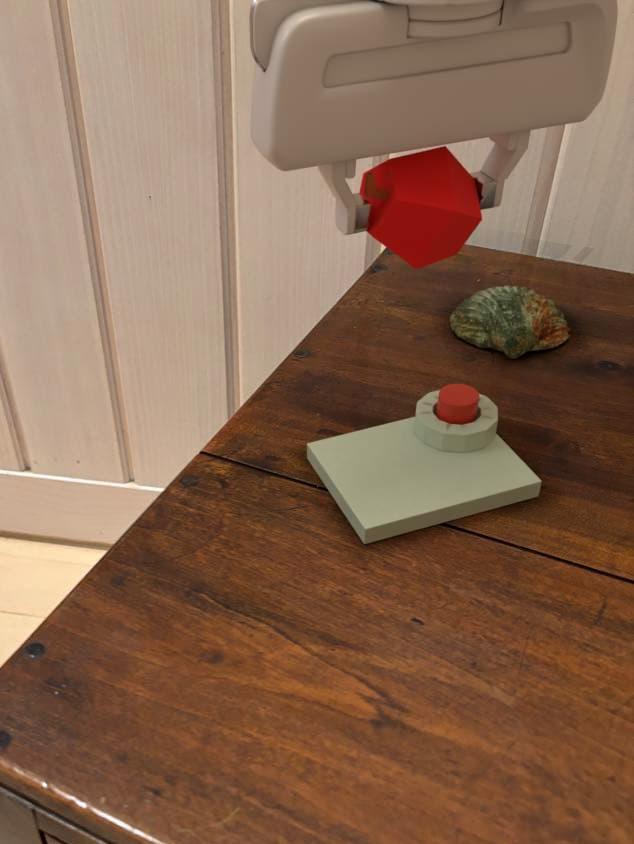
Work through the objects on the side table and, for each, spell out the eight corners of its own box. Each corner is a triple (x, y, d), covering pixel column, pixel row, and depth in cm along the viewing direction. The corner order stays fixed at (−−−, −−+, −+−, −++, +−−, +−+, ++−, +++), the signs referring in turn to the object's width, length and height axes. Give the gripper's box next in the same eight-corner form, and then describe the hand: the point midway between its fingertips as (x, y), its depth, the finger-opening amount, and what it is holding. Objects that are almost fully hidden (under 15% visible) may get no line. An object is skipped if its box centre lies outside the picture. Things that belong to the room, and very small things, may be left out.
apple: (475, 134, 56) (366, 103, 53) (524, 196, 52) (410, 166, 49) (419, 232, 61) (315, 209, 57) (460, 295, 57) (351, 275, 53)
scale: (467, 415, 70) (472, 381, 68) (543, 495, 63) (551, 460, 61) (304, 455, 68) (304, 422, 66) (364, 545, 60) (366, 510, 58)
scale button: (464, 400, 67) (467, 379, 66) (483, 420, 65) (487, 400, 64) (429, 408, 67) (431, 388, 65) (448, 429, 65) (450, 409, 63)
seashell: (574, 259, 79) (577, 318, 72) (568, 303, 82) (571, 363, 74) (454, 261, 81) (445, 318, 74) (452, 303, 84) (444, 362, 77)
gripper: (270, -16, 42) (274, 270, 51) (658, -64, 46) (595, 209, 55) (227, -41, 46) (238, 226, 55) (584, -83, 50) (537, 172, 60)
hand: (418, 217), depth 55 cm, fingers closed on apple, 7 cm apart
